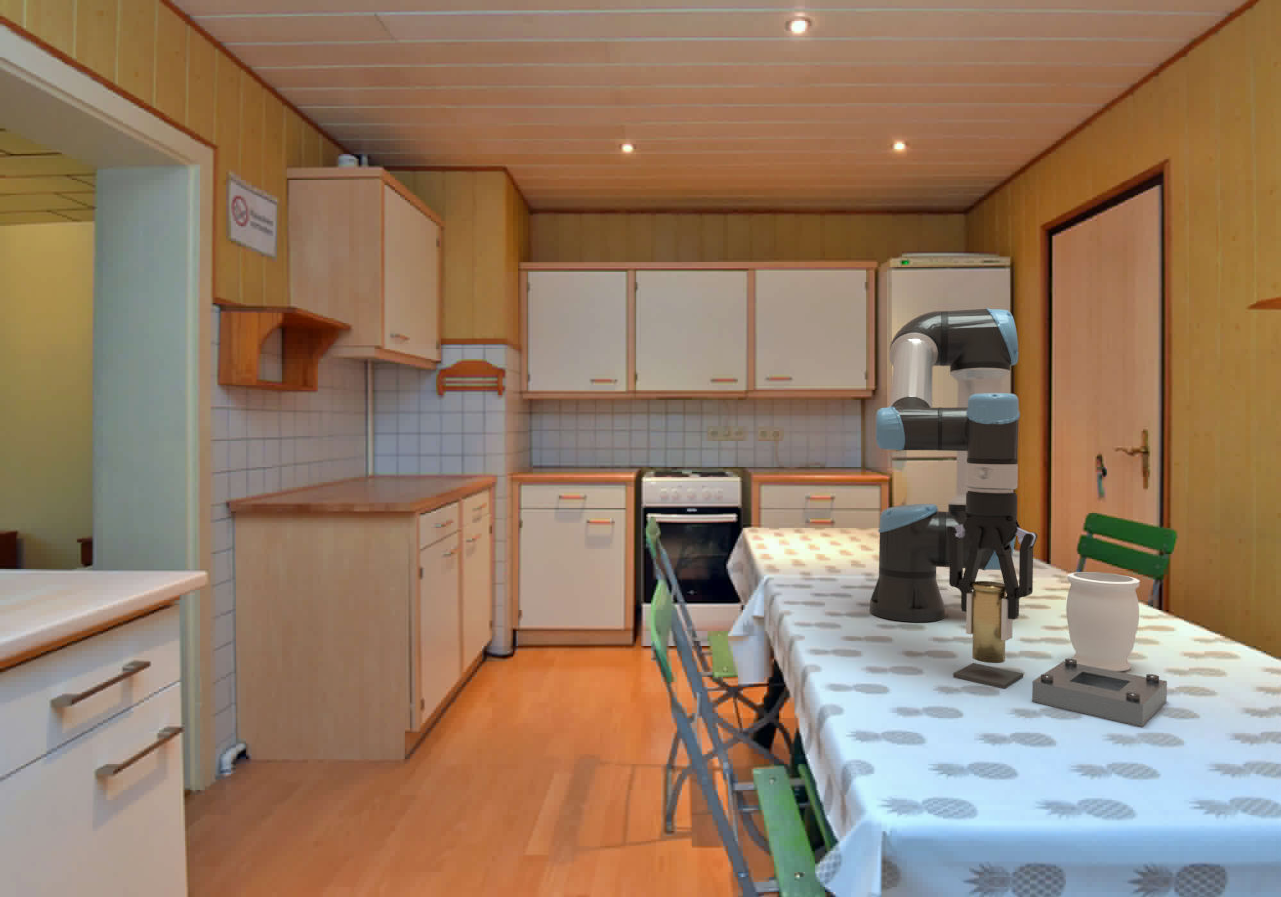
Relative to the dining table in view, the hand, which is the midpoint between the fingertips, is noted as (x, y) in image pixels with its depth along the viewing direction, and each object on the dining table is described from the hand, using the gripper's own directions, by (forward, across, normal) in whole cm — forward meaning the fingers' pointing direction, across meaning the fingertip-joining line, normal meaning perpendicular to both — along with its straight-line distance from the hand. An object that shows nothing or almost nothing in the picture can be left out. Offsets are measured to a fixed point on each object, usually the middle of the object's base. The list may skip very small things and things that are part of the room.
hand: (989, 635), depth 128 cm
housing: (+7, +16, 0) cm, 17 cm away
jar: (+7, +11, +20) cm, 24 cm away
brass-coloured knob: (+4, 0, 0) cm, 4 cm away
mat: (+7, 0, 0) cm, 7 cm away
